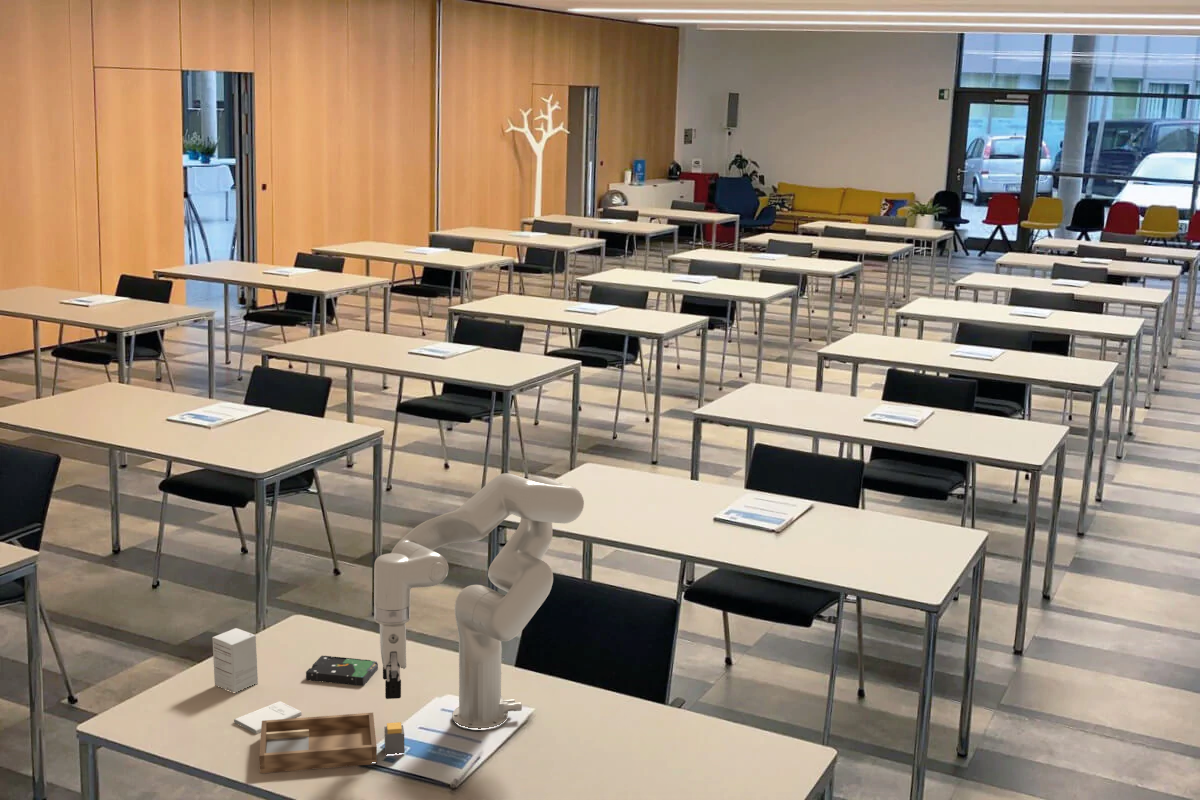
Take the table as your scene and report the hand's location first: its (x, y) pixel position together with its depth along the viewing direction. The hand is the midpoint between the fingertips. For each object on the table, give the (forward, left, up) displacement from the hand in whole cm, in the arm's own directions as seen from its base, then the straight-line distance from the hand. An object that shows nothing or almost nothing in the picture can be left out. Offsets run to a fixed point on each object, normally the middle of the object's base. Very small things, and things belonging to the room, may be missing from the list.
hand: (391, 688), depth 280 cm
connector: (0, 0, -15) cm, 15 cm away
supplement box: (+35, -39, -15) cm, 54 cm away
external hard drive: (+27, -20, -16) cm, 37 cm away
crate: (+16, -3, -15) cm, 22 cm away
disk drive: (+10, -41, -16) cm, 45 cm away
